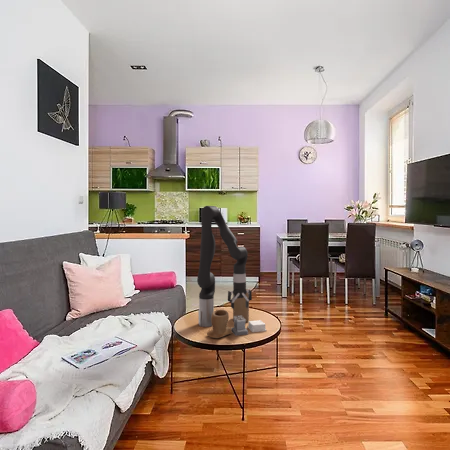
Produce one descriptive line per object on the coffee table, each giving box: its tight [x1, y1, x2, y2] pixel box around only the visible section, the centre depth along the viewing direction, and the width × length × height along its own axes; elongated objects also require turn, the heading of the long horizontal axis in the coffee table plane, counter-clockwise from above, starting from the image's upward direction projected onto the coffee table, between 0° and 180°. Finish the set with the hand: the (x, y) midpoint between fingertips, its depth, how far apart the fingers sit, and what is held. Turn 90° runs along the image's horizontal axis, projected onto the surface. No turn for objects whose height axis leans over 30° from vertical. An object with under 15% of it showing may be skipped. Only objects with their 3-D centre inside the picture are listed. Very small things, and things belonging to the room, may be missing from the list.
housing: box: [233, 315, 247, 332], centre depth 207 cm, size 5×8×7 cm, turn 15°
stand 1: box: [230, 326, 249, 336], centre depth 208 cm, size 8×8×2 cm
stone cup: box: [206, 309, 233, 339], centre depth 202 cm, size 15×12×15 cm
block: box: [232, 288, 250, 323], centre depth 231 cm, size 10×10×20 cm
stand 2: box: [246, 319, 267, 333], centre depth 214 cm, size 9×9×4 cm
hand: (239, 308), depth 207 cm, fingers open, 8 cm apart
